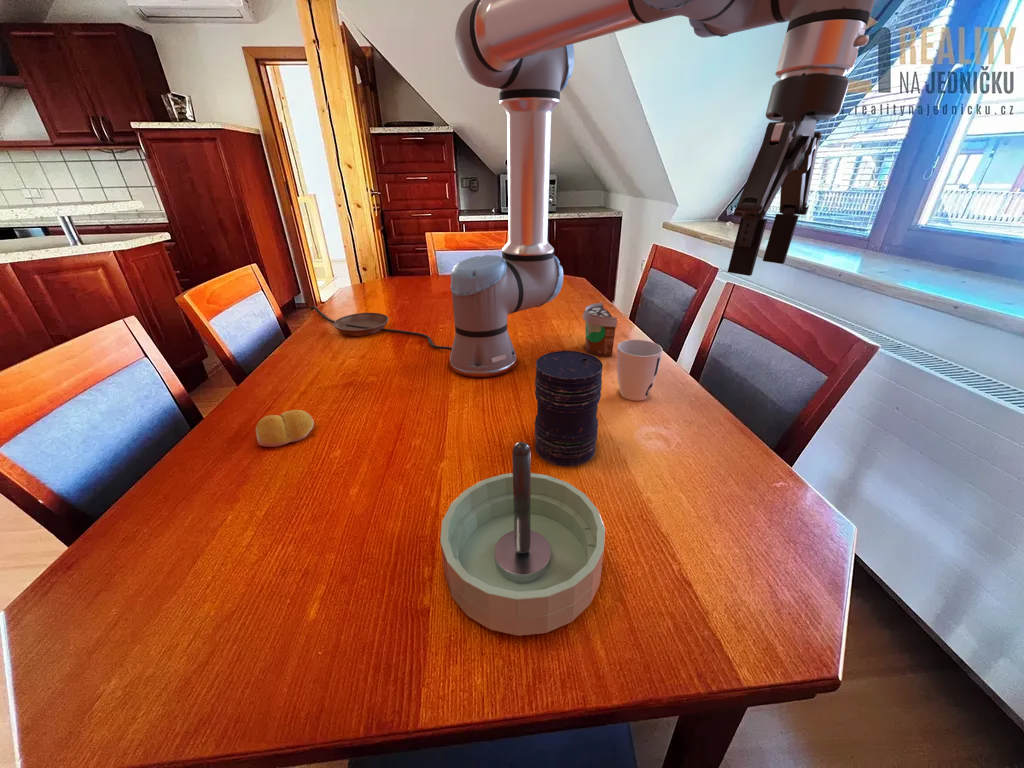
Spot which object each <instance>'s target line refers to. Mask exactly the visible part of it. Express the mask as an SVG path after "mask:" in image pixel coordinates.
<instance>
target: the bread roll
mask: <svg viewBox="0 0 1024 768" xmlns="http://www.w3.org/2000/svg"><path fill="white" fill-rule="evenodd" d="M314 427H315V422H314V419H313V417H312V416H311V414H310V413H308V411H305V410H303V409H291V410H287V411H284V412H282V413H281V414H280V415H277V414H268V415H264V416H263V417H262V418H260V419H259V420H258V422H257V423H256V425H255V435H256V440H257V443H258V445H259V446H262V447H266V448H267V447H268V448H275V447H280V446H284V445H287V444H289V443H295V442H299V441H302V440H304V439H305V438H306V437H308V435H309V434H310V432H311V431H312V430H313V428H314Z"/></svg>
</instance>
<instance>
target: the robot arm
mask: <svg viewBox="0 0 1024 768" xmlns="http://www.w3.org/2000/svg"><path fill="white" fill-rule="evenodd" d="M875 2H876V0H472V1H471V2H469V4H467V5H466V6H465V8H464V9H463V10H462V12H461V13H460V16H459V17H458V20H457V23H456V26H455V33H454V44H455V45H454V47H455V51H456V56H457V59H458V61H459V63H460V65H461V67H462V69H463V71H464V72H465V74H467V75H468V77H469V78H470V79H472V80H473V81H474V82H476V83H477V84H479V85H481V86H484V87H486V88H493V89H498V99H499V100H498V102H499V105H500V107H502V108H503V110H504V111H505V113H506V115H507V117H506V118H507V123H506V124H507V197H508V198H507V199H508V200H507V201H508V202H507V204H508V205H507V207H508V209H507V210H508V211H507V213H508V215H507V216H508V241H507V243H506V244H505V245H503V247H502V248H501V256H500V255H495V254H494V255H492V254H488V255H487V254H485V255H482V256H480V255H479V256H473V257H469V258H466V259H464V260H463V259H462V260H461V261H458V263H456V264H454V266H453V267H452V269H451V272H450V293H451V297H452V299H451V300H452V308H453V321H454V331H455V332H454V339H453V342H452V346H447V345H446V346H444V345H436V344H434V343H433V340H432V338H431V337H430V336H429V335H427V334H425V333H420V332H415V331H407V330H402V329H401V330H400V329H393V328H392V329H391V328H382V329H381V330H380V331H379V332H386V333H387V332H389V333H397V334H405V335H413V336H417V337H423V338H425V339H426V340H427V341H428V343H429V345H430V346H431V347H432V348H433V349H437V350H448V351H451V352H450V355H449V367H450V369H451V370H452V371H453V373H456V374H458V375H460V376H463V377H468V378H475V379H476V378H479V379H481V378H483V379H484V378H491V377H498V376H500V375H504V374H507V373H508V372H510V371H512V370H514V368H515V367H516V365H517V354H516V353H517V352H516V350H515V348H514V345H513V342H512V340H511V337H510V334H509V330H508V316H509V315H511V314H515V313H518V312H523V311H526V310H530V309H533V308H540V307H542V306H544V305H545V304H548V303H550V302H552V301H553V300H555V299H556V298H557V297H558V296H559V294H560V292H561V290H562V288H563V284H564V269H563V266H562V265H561V262H560V261H561V260H559V258H558V257H557V256H556V255H555V248H554V247H553V246H552V245H551V244H550V243H549V240H548V236H549V235H548V232H549V230H548V229H549V203H550V202H549V200H550V171H551V169H550V168H551V166H550V165H551V142H552V141H551V138H552V137H551V135H552V114H553V111H554V110H555V109H556V108H557V107H558V105H559V104H560V102H561V92H563V90H565V88H567V86H568V84H569V79H571V78H572V75H573V72H574V67H575V47H574V44H578V43H581V42H585V41H588V40H589V41H590V40H592V39H597V38H599V37H603V36H607V35H610V34H614V33H617V32H620V31H624V30H628V29H631V28H635V27H638V26H641V25H646V24H651V23H655V22H658V21H663V20H666V19H669V18H674V17H681V16H682V17H686V18H688V23H689V25H690V27H691V28H693V33H694V34H695V36H697V37H699V38H703V39H704V38H705V39H706V38H712V37H713V38H714V37H720V38H723V37H728V36H729V35H732V34H735V33H740V32H745V31H749V30H753V29H758V28H763V27H766V26H772V25H776V24H783V23H787V22H788V23H787V29H786V32H785V35H784V38H783V41H782V42H783V43H782V47H781V50H780V55H779V57H778V61H777V66H776V68H775V74H774V75H775V76H776V78H778V79H779V80H777V81H776V82H775V83H774V84H773V85H772V86H771V87H772V88H771V91H770V96H769V99H768V104H767V107H766V111H765V117H766V119H767V120H770V121H772V122H768V124H767V126H766V127H765V133H764V136H763V140H762V143H761V145H760V148H759V151H758V153H757V156H756V158H755V160H754V163H753V166H752V167H751V169H750V172H749V175H748V177H747V180H746V182H745V184H744V187H743V189H742V192H741V195H740V196H739V199H738V201H737V204H736V206H735V208H734V210H733V217H734V218H740V221H739V225H738V229H737V232H736V237H735V241H734V244H733V247H732V248H733V249H732V251H731V252H732V253H731V256H730V259H729V264H728V267H727V273H728V274H729V273H730V274H735V275H741V276H742V275H743V276H748V277H751V276H753V273H754V268H755V265H756V261H757V259H758V254H759V251H760V247H761V243H762V241H763V237H764V234H765V229H766V226H767V224H768V223H767V222H768V219H767V218H765V217H766V216H767V213H768V211H769V209H770V207H771V206H772V203H773V202H774V200H775V198H776V196H777V194H778V192H779V190H780V197H779V213H776V214H775V216H774V219H773V222H772V223H773V224H772V227H771V230H770V235H769V237H768V241H767V244H766V247H765V251H764V255H763V259H762V262H765V263H774V264H779V265H780V264H781V265H784V264H785V262H786V260H787V259H786V258H787V256H788V253H789V249H790V246H791V244H792V239H793V237H794V234H795V229H796V226H797V223H798V220H799V217H800V216H806V215H807V213H808V211H809V206H808V200H809V195H810V190H811V185H812V178H813V174H814V171H815V164H816V159H817V154H818V150H819V146H820V144H821V143H820V142H821V139H823V131H816V128H817V127H816V125H817V123H818V122H819V121H825V120H831V119H834V118H835V117H837V116H838V115H839V114H840V113H841V110H842V107H843V104H844V101H845V97H846V94H847V91H848V88H849V85H850V80H849V78H848V77H847V76H845V75H848V74H849V73H851V71H853V70H854V68H855V63H856V62H857V59H858V55H859V52H858V51H859V49H860V48H861V47H862V48H863V47H865V46H866V45H867V44H868V43H869V41H870V35H868V34H865V32H866V29H867V26H868V24H869V21H870V16H871V13H872V11H873V8H874V5H875ZM314 310H315V312H317V313H318V314H319V315H320V316H322V317H323V318H324V319H325V320H326V321H328V322H330V323H332V324H334V322H335V321H336V320H333V319H331V318H329V317H327V316H326V315H325V314H324V313H323V312H322V311H321V310H320V309H318V307H316V306H311V308H310V311H314ZM346 326H350V327H356V328H362V329H368V328H372V327H362V326H355V325H348V324H346Z"/></svg>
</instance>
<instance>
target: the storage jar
mask: <svg viewBox="0 0 1024 768" xmlns="http://www.w3.org/2000/svg"><path fill="white" fill-rule="evenodd" d="M603 367H604V364H603V362H602V361H601V359H599V358H598V357H596V355H594V354H591V353H587V352H584V351H578V350H557V351H551V352H547V353H544V354H542V355H541V356H540V357H538V358H537V359H536V362H535V378H534V387H535V390H534V395H535V400H536V416H535V420H534V437H535V439H534V440H535V446H534V447H535V452H536V454H537V455H538V457H539V458H541V460H543V461H545V462H547V463H549V464H551V465H554V466H558V467H576V466H581V465H584V464H586V463H588V462H589V461H591V460H592V459H593V458H594V456H595V454H596V444H597V440H598V433H599V432H598V431H599V430H598V429H599V419H598V417H597V416H598V405H599V403H600V401H601V397H602V386H603V380H602V378H603Z"/></svg>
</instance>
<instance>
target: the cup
mask: <svg viewBox="0 0 1024 768" xmlns="http://www.w3.org/2000/svg"><path fill="white" fill-rule="evenodd" d="M616 352H617V353H616V356H617V357H616V373H617V384H618V387H619V391H620V392H619V393H620V395H621V396H622V397H623V399H626V400H628V401H634V402H638V401H644V400H646V399H647V398H648V396H649V394H650V392H651V390H652V389H653V386H654V383H655V381H656V378H657V375H658V373H659V368H660V364H661V360H662V355H663V347H662V346H661V345H660V344H658V343H656V342H653V341H650V340H644V339H626V340H624V341H620V342H619V343H617V349H616Z"/></svg>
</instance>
